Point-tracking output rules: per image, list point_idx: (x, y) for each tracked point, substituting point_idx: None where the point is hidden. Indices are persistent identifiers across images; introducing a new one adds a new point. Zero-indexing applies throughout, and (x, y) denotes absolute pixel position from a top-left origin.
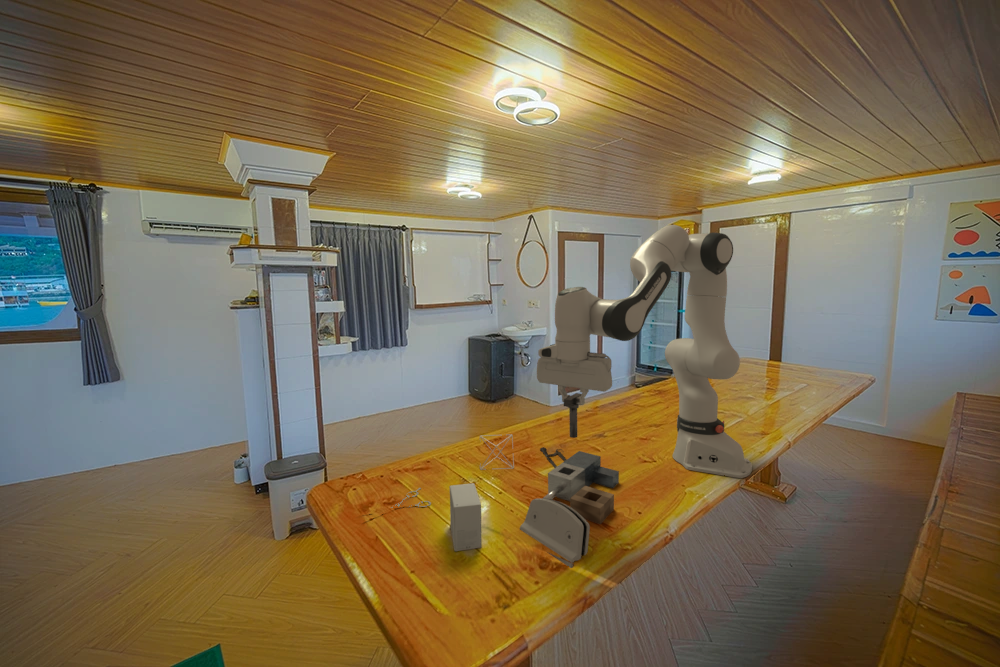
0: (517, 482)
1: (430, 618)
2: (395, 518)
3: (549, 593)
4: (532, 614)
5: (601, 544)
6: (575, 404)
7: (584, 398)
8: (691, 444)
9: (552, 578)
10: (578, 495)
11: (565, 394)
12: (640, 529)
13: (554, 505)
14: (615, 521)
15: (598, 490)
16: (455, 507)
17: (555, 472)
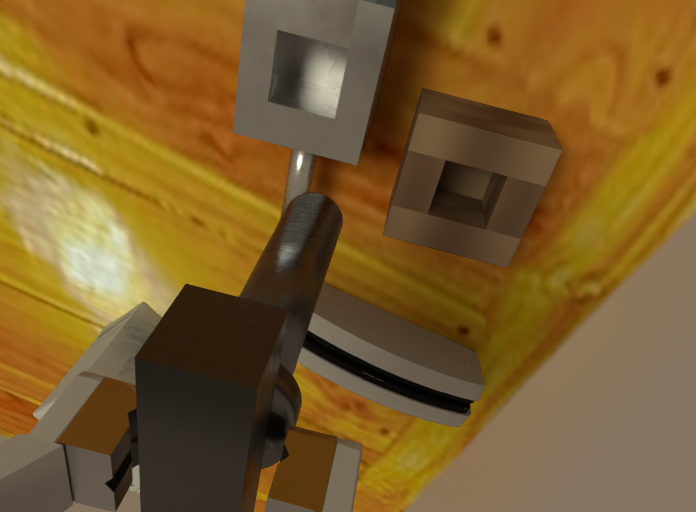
0: (90, 16)
1: (257, 509)
2: None
3: (417, 447)
4: (402, 484)
5: (510, 297)
6: (266, 457)
7: (352, 505)
8: None
9: (412, 418)
10: (409, 205)
11: (57, 483)
12: (646, 193)
13: (365, 395)
14: (553, 173)
15: (488, 139)
16: (136, 490)
17: (261, 112)
